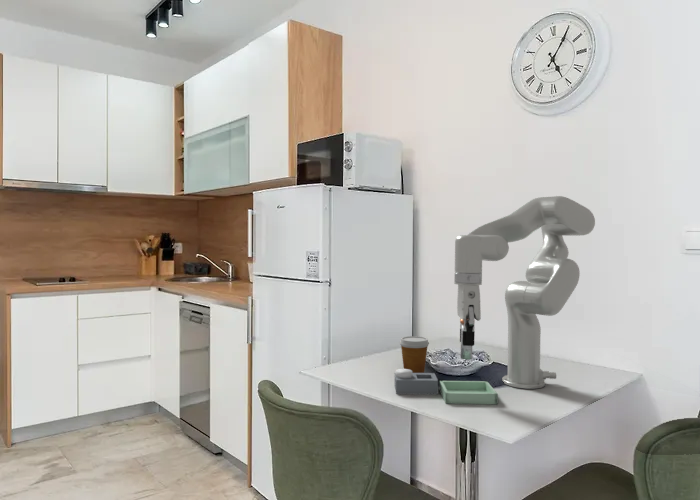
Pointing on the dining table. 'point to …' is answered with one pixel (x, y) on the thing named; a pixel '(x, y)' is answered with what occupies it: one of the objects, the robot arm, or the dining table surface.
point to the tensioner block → (415, 382)
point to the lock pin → (465, 350)
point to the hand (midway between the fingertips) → (466, 343)
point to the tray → (468, 392)
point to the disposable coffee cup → (414, 353)
